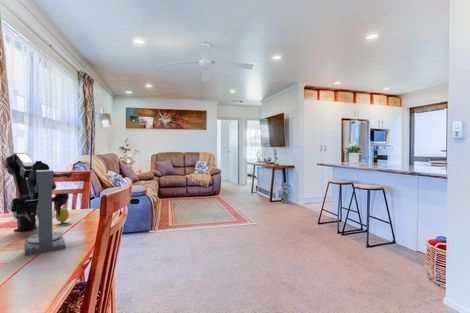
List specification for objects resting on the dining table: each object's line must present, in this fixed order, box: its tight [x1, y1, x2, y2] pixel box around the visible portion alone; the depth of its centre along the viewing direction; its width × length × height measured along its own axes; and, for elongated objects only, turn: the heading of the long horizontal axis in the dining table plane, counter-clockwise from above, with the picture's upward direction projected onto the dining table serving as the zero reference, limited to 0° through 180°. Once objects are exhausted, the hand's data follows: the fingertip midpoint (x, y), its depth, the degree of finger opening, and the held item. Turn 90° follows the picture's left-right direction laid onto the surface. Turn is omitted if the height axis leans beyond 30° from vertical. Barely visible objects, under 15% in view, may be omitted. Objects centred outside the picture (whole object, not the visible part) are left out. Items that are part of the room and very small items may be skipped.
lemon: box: [55, 206, 70, 224], centre depth 130 cm, size 6×6×8 cm
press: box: [24, 169, 73, 257], centre depth 101 cm, size 19×15×30 cm
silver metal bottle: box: [36, 205, 39, 238], centre depth 103 cm, size 5×5×14 cm
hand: (45, 218), depth 102 cm, fingers open, 9 cm apart
